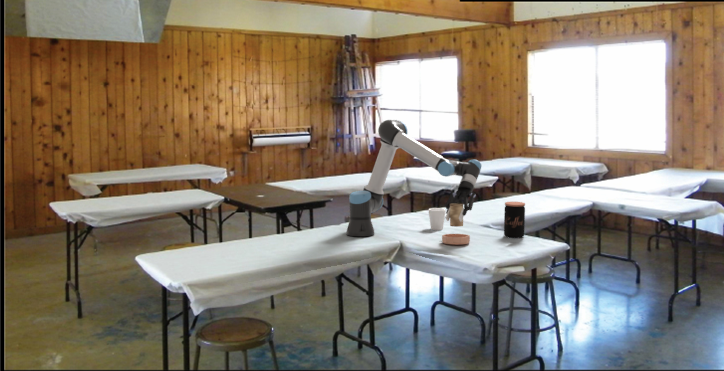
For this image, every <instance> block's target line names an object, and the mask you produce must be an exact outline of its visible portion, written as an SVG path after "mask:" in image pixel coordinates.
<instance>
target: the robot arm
mask: <svg viewBox="0 0 724 371" xmlns="http://www.w3.org/2000/svg"><path fill="white" fill-rule="evenodd" d="M377 133H378V136H379V137H380V140H379V142H380V144H381V146H380V149H379V151H378V154H377V156H376V157H377V158H376V160H375V163H374V166H373V168H372V170H371V171H372V172H371V175H370V178H369V180H368V183H367V184H366V185H365V186H364V187H363V190H357V191H356V190H355V191H353V192H351V193H350V194H349V199H348V201H349V202H348V204H349V205H348V206H349V222H348V226H347V227H346V228H347V229H346V236H351V237H368V236H374V235H375V229H374V225H373V221H372V214H373V213H375V212H378V211H379V210H381V208H382V207H383V205H384V198H383V197H384V194H385V192H384V190H383V189H384V187H385V183H386V181H387V178H388V175H389V172H390V169H391V167H392V166H391V165H392V164H393V161H394V159H395V158H394V157H395V154H396V152H397V150H398V149H402V150H403V151H405V152H406V153H408V154H409V155H411V156H412V157H414V158H416V159H418V160H419V161H420V162H422V163H424V164H425V165H427V166H429V167H431V168H432V169H434V170H435V171H437V172H438V174H440V175H441V176H443V177H445V178H446V177H452V176H458V177H461V179H460V183H459V184H458V187H457V190H456V191H455V192H453V191H450V194H449V197H448V199H447V201H446V203H445V204H444V206H445V208H446V213H445V218H444V219H446V221H447V222H448V221H449V222H450V204H453V203H458V202H460V201H462V200H463V208H462V210H461V213H460V216H459V220H460V222H462V219H463V220H464V217H465V216H466V215H467V212H468V211H472V210H473V206H474V202H475V199H476V198H477V195H476V193H475V192H473V191H474V188H475V185H476V183H477V181H478V179H479V175H480V173H481V170H482V163H481V162H480V161H479V160H477V159H470V160H468V161H467V162H462V161H459V160H453V159H447V158H445V157H443V156H442V155H441V154H439V153H437V152H435V151H434V150H432V149H431V148H429V147H428V146H426V145H424V144H423V143H421V142H419V141H417V140H415V139H414V138H412V137H411V136H409V135H408V128H407V126H406V124H405V123H404V122H403V121H400V120H397V119H387V120H383V121H382V122H381V123H380V124H379V126H378V129H377Z"/></svg>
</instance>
